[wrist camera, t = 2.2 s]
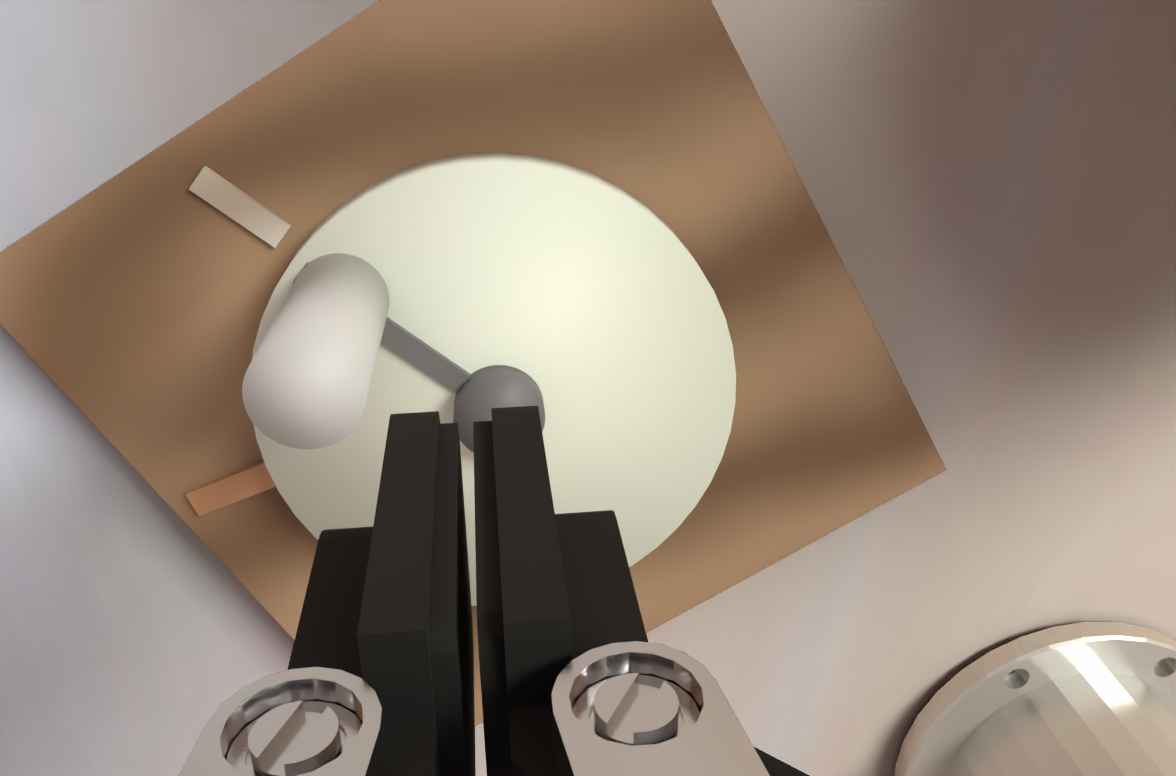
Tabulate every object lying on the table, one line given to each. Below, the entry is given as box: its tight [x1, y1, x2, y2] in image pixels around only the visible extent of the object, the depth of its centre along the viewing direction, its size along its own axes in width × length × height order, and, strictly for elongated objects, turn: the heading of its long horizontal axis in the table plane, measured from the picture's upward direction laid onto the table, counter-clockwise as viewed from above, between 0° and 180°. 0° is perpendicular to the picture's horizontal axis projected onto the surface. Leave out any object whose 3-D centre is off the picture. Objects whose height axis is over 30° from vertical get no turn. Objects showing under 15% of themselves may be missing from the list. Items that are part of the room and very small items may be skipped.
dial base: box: [0, 0, 946, 726], centre depth 29 cm, size 20×20×2 cm
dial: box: [242, 152, 736, 606], centre depth 25 cm, size 13×13×8 cm
